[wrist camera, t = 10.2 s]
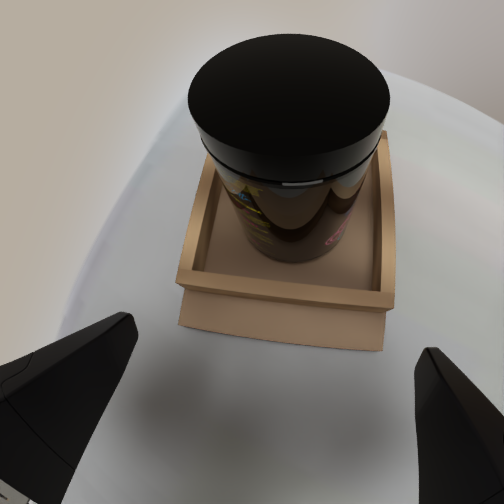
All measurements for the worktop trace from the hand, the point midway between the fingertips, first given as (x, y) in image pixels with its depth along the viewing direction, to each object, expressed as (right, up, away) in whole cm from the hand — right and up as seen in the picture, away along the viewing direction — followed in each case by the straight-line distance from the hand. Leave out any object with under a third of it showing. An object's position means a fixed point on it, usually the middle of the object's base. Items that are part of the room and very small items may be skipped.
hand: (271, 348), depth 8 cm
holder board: (+3, +7, +12) cm, 14 cm away
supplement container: (+2, +5, +10) cm, 12 cm away
